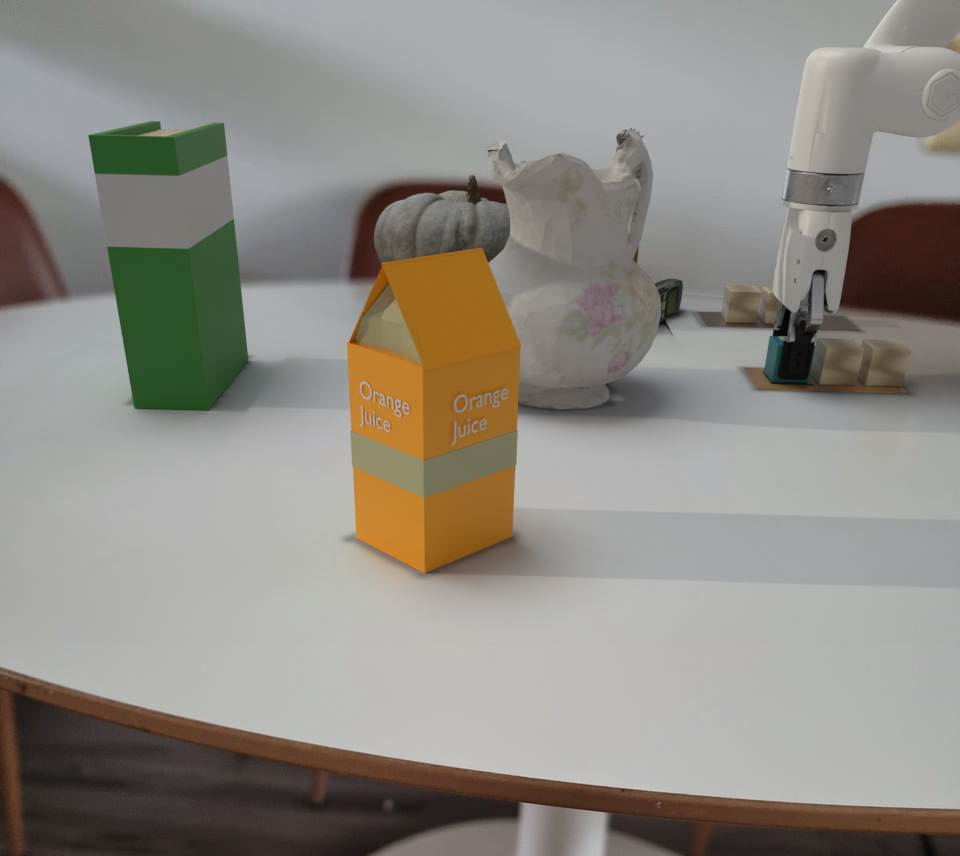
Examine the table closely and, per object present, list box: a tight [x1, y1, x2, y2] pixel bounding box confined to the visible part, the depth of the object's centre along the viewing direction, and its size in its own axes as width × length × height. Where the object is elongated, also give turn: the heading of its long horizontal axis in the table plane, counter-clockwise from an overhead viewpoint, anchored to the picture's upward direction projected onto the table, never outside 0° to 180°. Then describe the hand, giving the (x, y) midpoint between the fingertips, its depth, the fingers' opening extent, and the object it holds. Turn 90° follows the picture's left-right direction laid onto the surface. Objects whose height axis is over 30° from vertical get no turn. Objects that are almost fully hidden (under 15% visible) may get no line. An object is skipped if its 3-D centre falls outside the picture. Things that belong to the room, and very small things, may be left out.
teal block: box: [763, 335, 816, 383], centre depth 106 cm, size 4×4×4 cm
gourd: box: [373, 174, 510, 267], centre depth 132 cm, size 25×25×17 cm
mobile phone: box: [654, 278, 684, 324], centre depth 130 cm, size 5×3×15 cm
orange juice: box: [346, 248, 521, 574], centre depth 66 cm, size 8×9×20 cm
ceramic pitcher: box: [484, 127, 661, 410], centre depth 97 cm, size 22×20×25 cm
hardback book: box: [87, 120, 249, 411], centre depth 97 cm, size 18×7×24 cm, turn 179°
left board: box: [696, 284, 860, 332], centre depth 130 cm, size 20×8×5 cm, turn 88°
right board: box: [742, 337, 912, 395], centre depth 107 cm, size 16×8×5 cm, turn 88°
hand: (787, 370), depth 107 cm, fingers closed on teal block, 3 cm apart
